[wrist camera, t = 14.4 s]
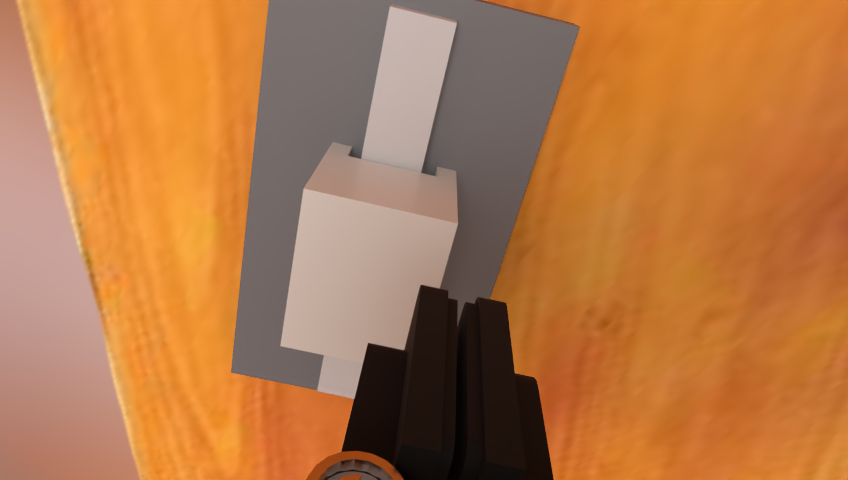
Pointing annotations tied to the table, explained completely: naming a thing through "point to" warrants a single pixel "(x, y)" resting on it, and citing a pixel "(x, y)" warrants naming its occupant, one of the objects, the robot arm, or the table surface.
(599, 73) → the table surface
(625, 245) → the table surface
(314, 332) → the block
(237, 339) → the rail board
